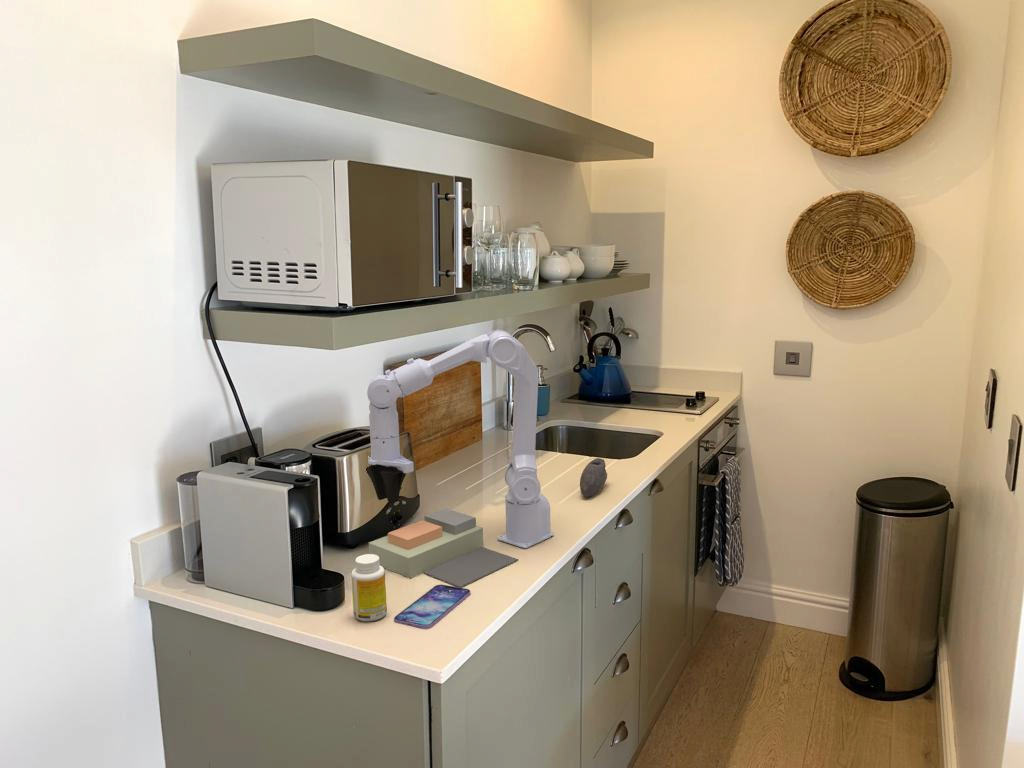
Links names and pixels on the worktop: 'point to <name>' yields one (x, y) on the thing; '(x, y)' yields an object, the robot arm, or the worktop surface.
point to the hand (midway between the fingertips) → (388, 500)
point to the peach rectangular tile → (415, 534)
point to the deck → (425, 552)
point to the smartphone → (432, 606)
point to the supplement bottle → (368, 588)
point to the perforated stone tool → (593, 477)
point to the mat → (470, 567)
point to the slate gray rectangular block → (451, 521)
